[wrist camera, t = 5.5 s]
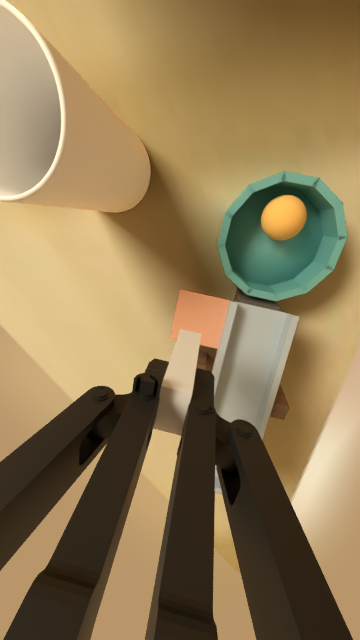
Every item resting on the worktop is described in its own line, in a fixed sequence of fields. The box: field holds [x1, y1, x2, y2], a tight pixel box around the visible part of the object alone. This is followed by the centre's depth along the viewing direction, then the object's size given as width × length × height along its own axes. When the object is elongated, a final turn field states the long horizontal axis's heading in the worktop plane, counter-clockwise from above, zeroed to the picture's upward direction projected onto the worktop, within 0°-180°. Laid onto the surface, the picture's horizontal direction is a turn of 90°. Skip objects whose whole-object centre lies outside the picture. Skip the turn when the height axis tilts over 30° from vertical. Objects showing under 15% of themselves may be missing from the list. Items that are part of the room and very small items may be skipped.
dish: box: [217, 171, 347, 301], centre depth 25 cm, size 11×11×4 cm
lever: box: [170, 289, 299, 494], centre depth 26 cm, size 20×11×4 cm, turn 169°
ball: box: [261, 195, 307, 241], centre depth 24 cm, size 4×4×4 cm
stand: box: [196, 288, 289, 420], centre depth 29 cm, size 19×11×8 cm, turn 169°
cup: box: [0, 0, 151, 213], centre depth 19 cm, size 8×8×16 cm
